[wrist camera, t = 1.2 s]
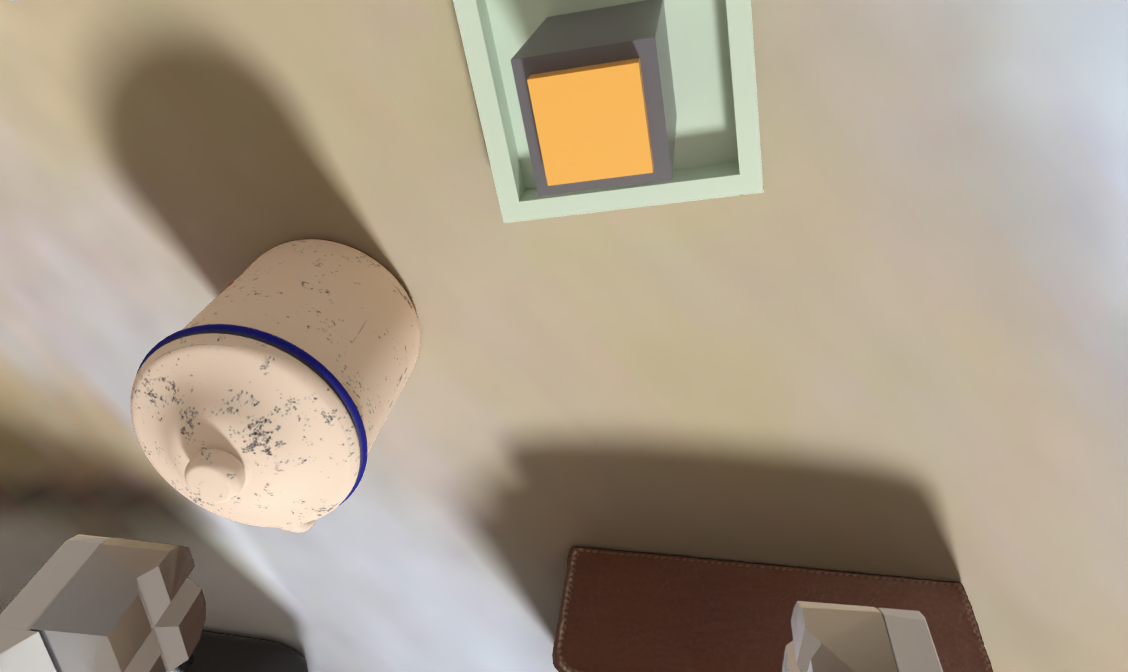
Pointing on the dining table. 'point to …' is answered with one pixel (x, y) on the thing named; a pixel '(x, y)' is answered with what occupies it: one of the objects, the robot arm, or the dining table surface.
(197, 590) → the robot arm
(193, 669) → the black machined bracket
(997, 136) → the dining table surface
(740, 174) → the tray
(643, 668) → the letter holder
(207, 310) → the teacup with lid
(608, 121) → the plug
